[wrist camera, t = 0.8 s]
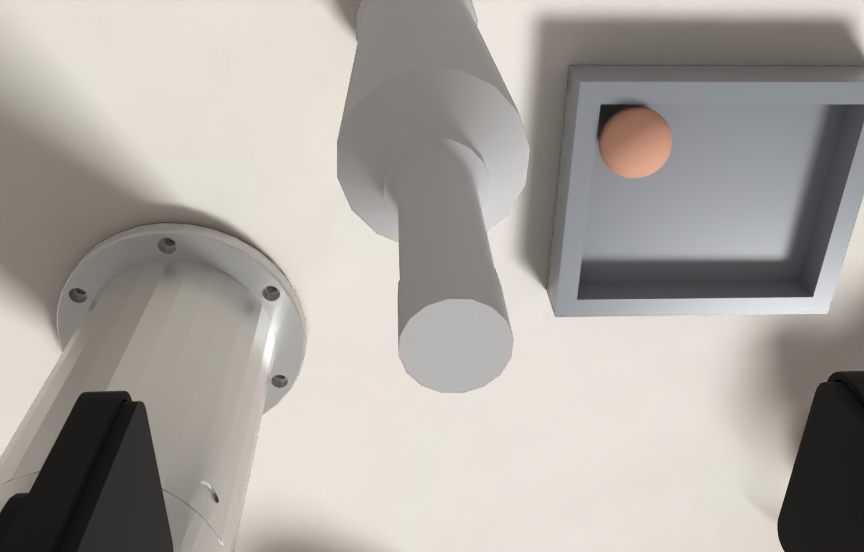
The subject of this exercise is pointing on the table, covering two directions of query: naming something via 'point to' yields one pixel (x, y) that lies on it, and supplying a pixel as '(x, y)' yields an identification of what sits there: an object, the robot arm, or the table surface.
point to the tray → (710, 192)
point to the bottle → (435, 179)
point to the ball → (635, 142)
